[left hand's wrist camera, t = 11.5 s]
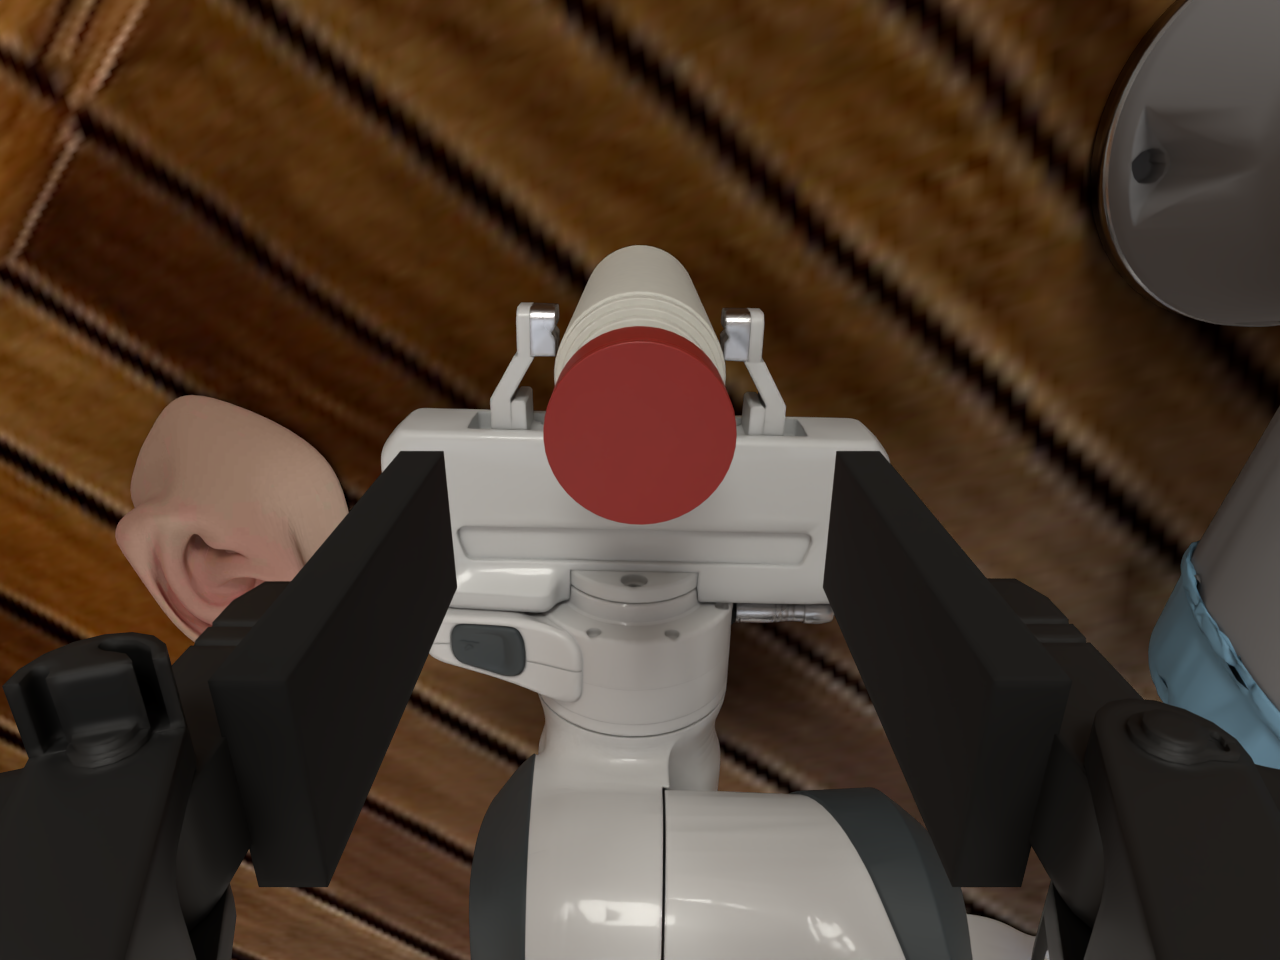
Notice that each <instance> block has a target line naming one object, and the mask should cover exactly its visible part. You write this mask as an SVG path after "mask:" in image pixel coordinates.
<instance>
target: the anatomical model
mask: <svg viewBox="0 0 1280 960" xmlns="http://www.w3.org/2000/svg"><path fill="white" fill-rule="evenodd" d="M131 498H132V501H133V504H134V507H135V508H134V509H133V510H132V511H130V512H129V513H127V514H126V515H125V516H124V517H123V518H122V519H121V521H120V522H119V523H118V525H117V528H116V533H115V535H116V540H117V543H118V545H119V547H120V549H121V551H122V552H123V554H124V555H125V557H126V558H127V560H128V561H129V562H130V564H131V565H132V567H133V568H134V570H135V571H136V573H137V574H138V575H139V577H140V578H141V580H142V581H143V583H144V584H145V586H146V587H147V588H148V590H149V591H150V593H151V594H152V596H153V597H154V598H155V600H156V601H157V603H158V604H159V605H160V607H161V608H162V610H163V611H164V612H165V613H166V615H167V616H168V617H169V618H170V619H171V621H172V622H173V623H174V624H175V625H176V626H177V627H178V628H179V629H180V630H181V631H182V632H183V633H184V634H185V635H186V636H187V637H189V638H190V639H191V640H192V641H194V642H195V640H196V639H197V638H198V637H199V636H200V635H201V634H202V633H203V632H204V631H205V630H206V628H207V627H212V622H213V621H214V620H215V619H216V618H217V617H218V616H219V615H220V614H221V612H222V611H223V610H224V609H225V608H226V607H227V606H228V605H229V604H230V603H231V602H232V601H233V600H234V599H236V598H238V597H239V596H241V595H243V594H244V593H246V592H248V591H250V590H251V589H253V588H255V587H256V586H258V585H260V584H262V583H263V582H265V581H292V580H293V578H294V577H295V576H296V575H297V574H298V572H299V571H300V570H301V569H302V568H303V567H304V565H305V564H306V563H307V562H308V561H309V559H310V558H311V557H312V556H313V555H314V553H315V552H316V551H317V550H318V549H319V547H320V546H321V545H322V544H323V543H324V541H325V540H326V539H327V538H328V537H329V536H330V534H331V533H332V532H333V531H334V530H335V528H336V527H337V526H338V525H339V524H340V522H341V521H342V520H343V519H344V518H345V516H346V515H347V514H348V513H349V512H348V507H347V504H346V500H345V497H344V493H343V490H342V488H341V485H340V483H339V480H338V478H337V476H336V474H335V472H334V471H333V469H332V467H331V466H330V465H329V463H328V462H327V461H326V459H325V458H324V457H323V456H322V455H321V454H320V453H319V452H318V451H317V450H316V449H315V448H314V447H313V446H311V445H310V444H309V443H308V442H306V441H305V440H304V439H302V438H301V437H299V436H298V435H296V434H295V433H293V432H292V431H290V430H289V429H287V428H285V427H283V426H281V425H279V424H277V423H276V422H274V421H272V420H270V419H267V418H265V417H263V416H261V415H258V414H256V413H254V412H252V411H249V410H247V409H244V408H241V407H239V406H236V405H234V404H231V403H228V402H225V401H221V400H218V399H215V398H210V397H206V396H198V395H187V396H182V397H179V398H177V399H175V400H174V401H172V402H171V403H170V404H169V405H168V406H167V407H165V409H164V410H163V411H162V413H161V414H160V415H159V417H158V418H157V420H156V421H155V423H154V425H153V427H152V429H151V431H150V433H149V434H148V436H147V438H146V440H145V442H144V444H143V446H142V448H141V450H140V453H139V456H138V459H137V462H136V466H135V469H134V473H133V476H132V481H131Z"/></svg>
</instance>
